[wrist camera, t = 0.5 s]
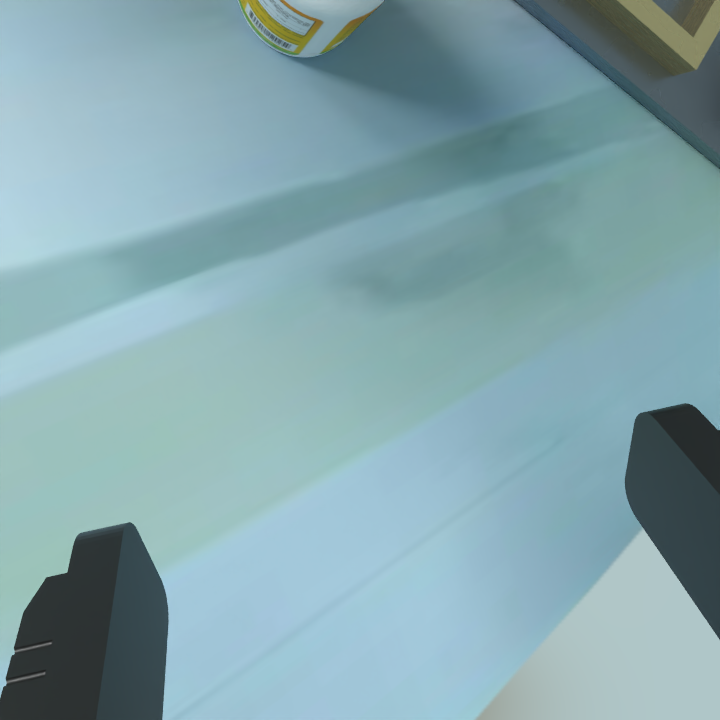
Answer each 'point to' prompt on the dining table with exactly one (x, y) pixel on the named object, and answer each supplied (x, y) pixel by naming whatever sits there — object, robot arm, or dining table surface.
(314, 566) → the dining table surface
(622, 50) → the shaft bench
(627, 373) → the dining table surface
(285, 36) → the supplement bottle
